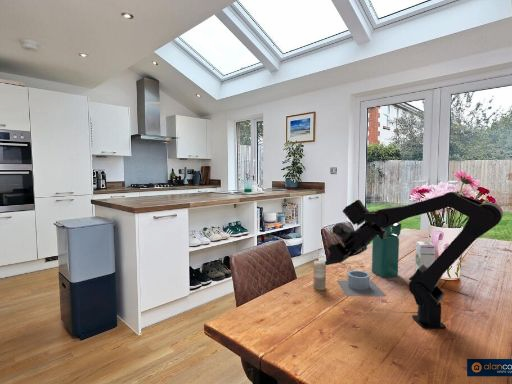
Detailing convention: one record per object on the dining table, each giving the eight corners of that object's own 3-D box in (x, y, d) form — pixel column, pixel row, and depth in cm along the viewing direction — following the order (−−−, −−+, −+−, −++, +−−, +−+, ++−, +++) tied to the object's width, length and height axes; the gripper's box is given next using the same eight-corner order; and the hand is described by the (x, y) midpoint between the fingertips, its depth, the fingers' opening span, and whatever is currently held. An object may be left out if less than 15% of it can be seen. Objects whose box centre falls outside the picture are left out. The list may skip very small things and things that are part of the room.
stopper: (326, 290, 107) (327, 264, 107) (314, 290, 108) (314, 264, 107) (324, 286, 112) (324, 260, 111) (312, 286, 112) (312, 260, 111)
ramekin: (372, 290, 107) (372, 278, 107) (350, 289, 107) (351, 277, 107) (365, 281, 115) (365, 270, 115) (345, 281, 115) (345, 270, 115)
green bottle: (382, 278, 119) (384, 225, 118) (369, 271, 127) (371, 221, 126) (402, 276, 122) (404, 224, 120) (388, 269, 130) (390, 220, 128)
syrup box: (435, 280, 117) (436, 245, 116) (419, 279, 118) (420, 244, 117) (429, 275, 122) (431, 241, 121) (414, 274, 124) (415, 241, 123)
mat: (386, 297, 102) (386, 296, 102) (346, 296, 103) (346, 295, 102) (372, 281, 116) (372, 280, 116) (336, 281, 116) (336, 280, 116)
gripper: (359, 213, 107) (331, 238, 115) (334, 219, 94) (304, 247, 102) (380, 238, 102) (350, 262, 111) (357, 248, 89) (324, 275, 97)
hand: (332, 261), depth 105 cm, fingers open, 9 cm apart
